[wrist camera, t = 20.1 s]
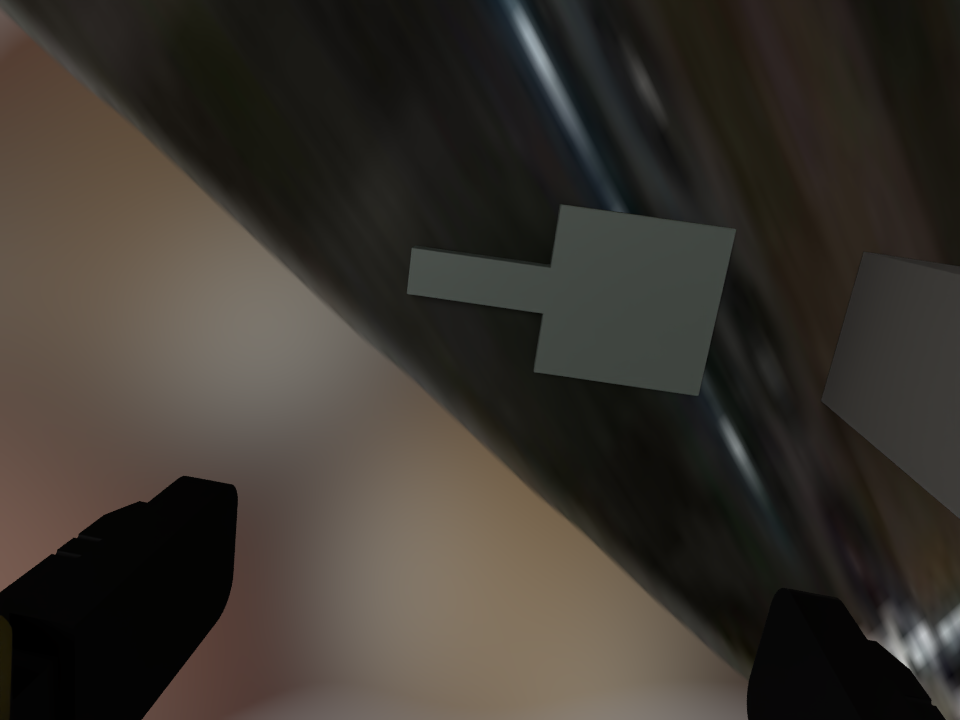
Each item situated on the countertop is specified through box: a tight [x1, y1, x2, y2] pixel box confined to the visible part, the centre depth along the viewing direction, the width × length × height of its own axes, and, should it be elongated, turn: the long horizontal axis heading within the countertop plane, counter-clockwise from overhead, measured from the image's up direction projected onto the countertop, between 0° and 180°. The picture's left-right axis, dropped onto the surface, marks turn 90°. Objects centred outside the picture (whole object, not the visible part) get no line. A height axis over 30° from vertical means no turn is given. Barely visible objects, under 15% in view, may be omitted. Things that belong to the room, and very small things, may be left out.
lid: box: [407, 204, 736, 396], centre depth 47 cm, size 20×11×2 cm, turn 82°
